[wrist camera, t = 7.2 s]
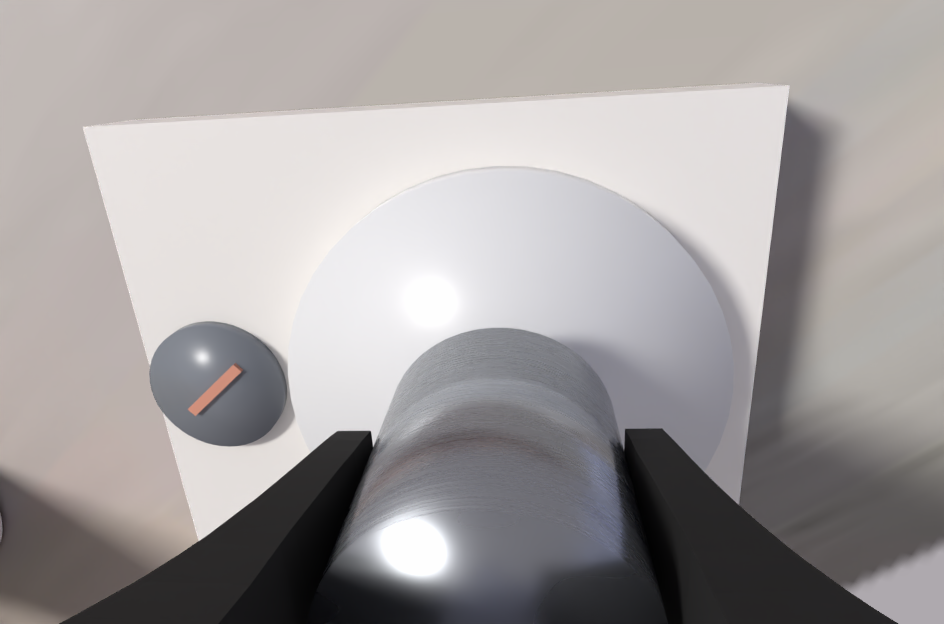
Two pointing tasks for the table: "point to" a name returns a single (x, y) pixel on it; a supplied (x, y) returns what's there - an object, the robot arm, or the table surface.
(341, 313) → the kitchen scale
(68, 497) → the table surface
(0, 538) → the supplement bottle
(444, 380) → the cylinder
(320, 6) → the table surface
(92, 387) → the table surface
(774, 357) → the table surface
